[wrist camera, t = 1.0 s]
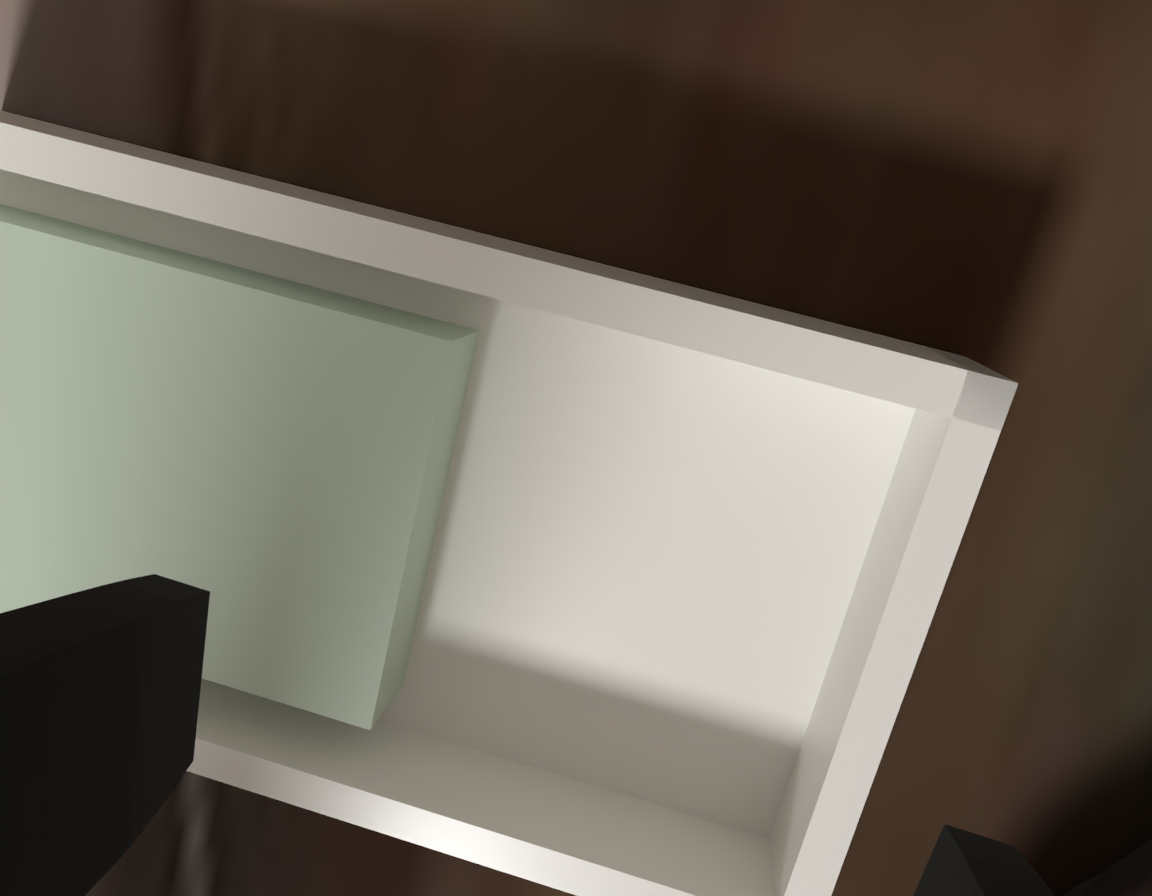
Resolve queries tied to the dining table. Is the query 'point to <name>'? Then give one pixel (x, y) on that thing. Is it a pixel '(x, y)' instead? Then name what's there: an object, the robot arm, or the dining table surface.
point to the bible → (1122, 877)
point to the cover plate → (225, 453)
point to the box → (601, 545)
